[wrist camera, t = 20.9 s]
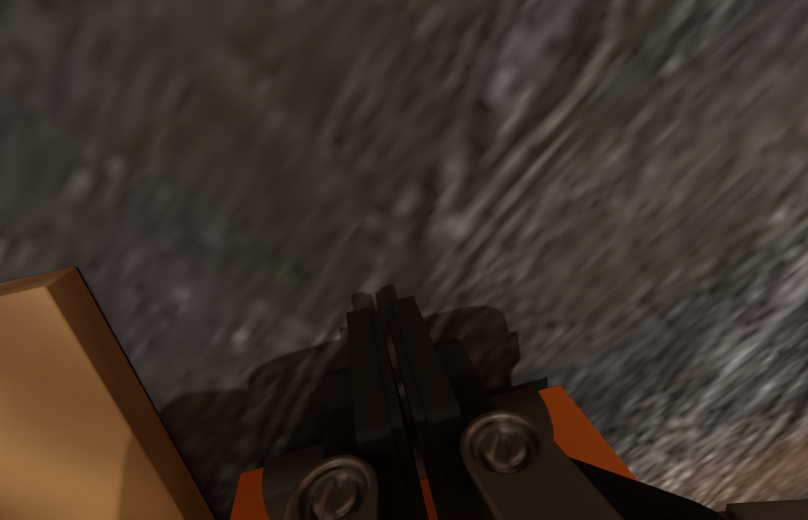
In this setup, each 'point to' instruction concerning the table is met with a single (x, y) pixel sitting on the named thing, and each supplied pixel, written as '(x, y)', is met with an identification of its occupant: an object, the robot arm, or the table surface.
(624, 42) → the table surface
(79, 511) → the bread board
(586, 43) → the table surface
